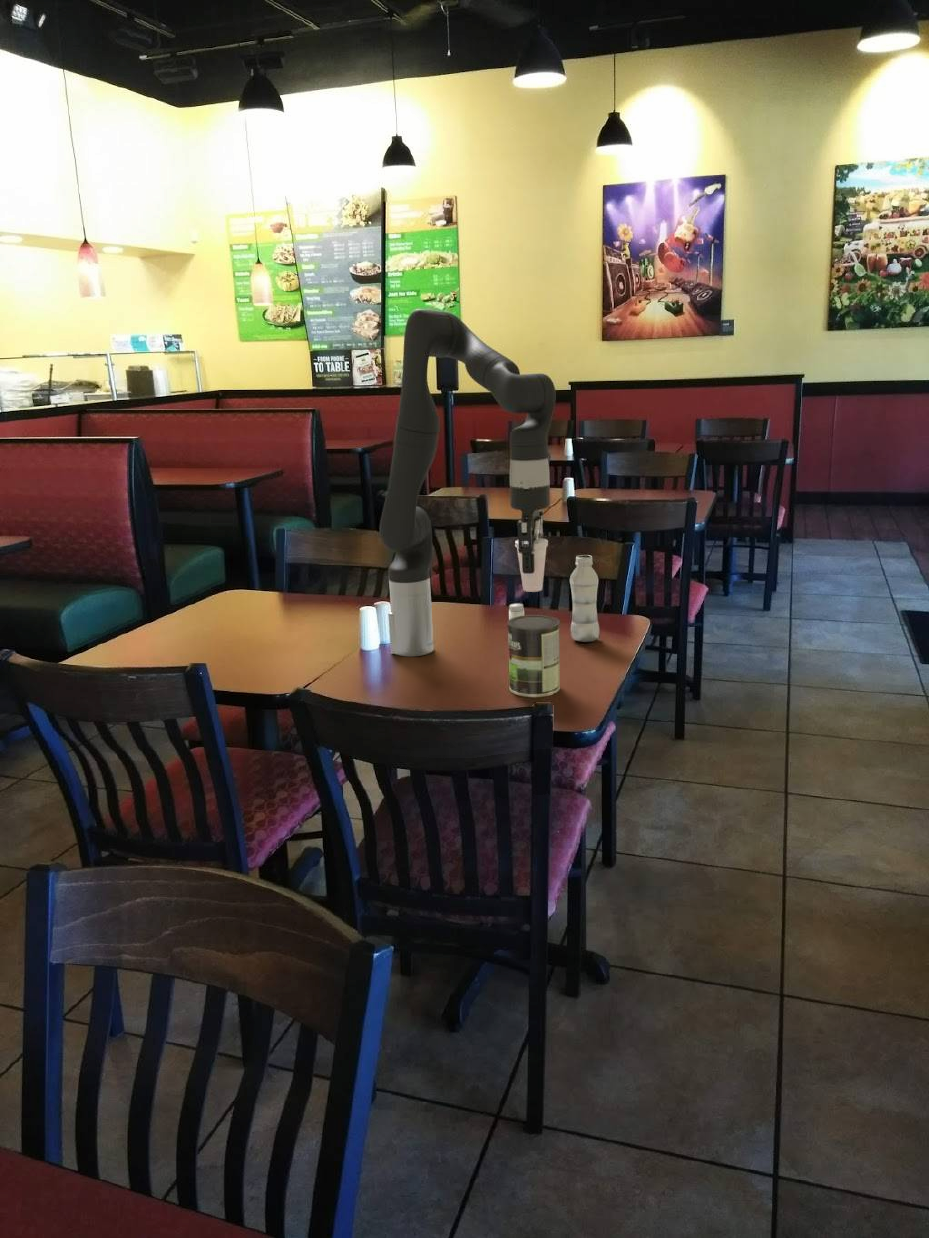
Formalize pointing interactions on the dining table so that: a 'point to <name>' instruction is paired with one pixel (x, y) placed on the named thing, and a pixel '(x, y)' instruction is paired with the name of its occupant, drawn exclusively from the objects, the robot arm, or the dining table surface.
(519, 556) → the smoothie
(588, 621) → the plastic bottle
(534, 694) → the coffee can
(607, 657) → the dining table surface
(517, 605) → the salt shaker
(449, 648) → the dining table surface
